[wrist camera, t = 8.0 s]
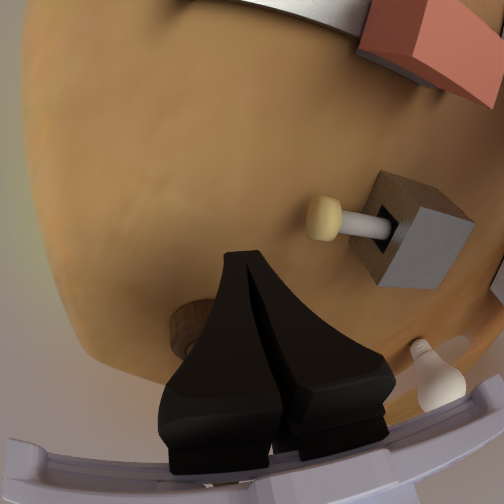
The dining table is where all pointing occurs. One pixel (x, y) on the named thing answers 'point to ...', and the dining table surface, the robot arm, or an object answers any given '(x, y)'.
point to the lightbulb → (435, 378)
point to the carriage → (436, 46)
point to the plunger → (342, 221)
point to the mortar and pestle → (190, 333)
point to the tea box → (499, 284)
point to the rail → (322, 12)
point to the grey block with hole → (412, 234)
